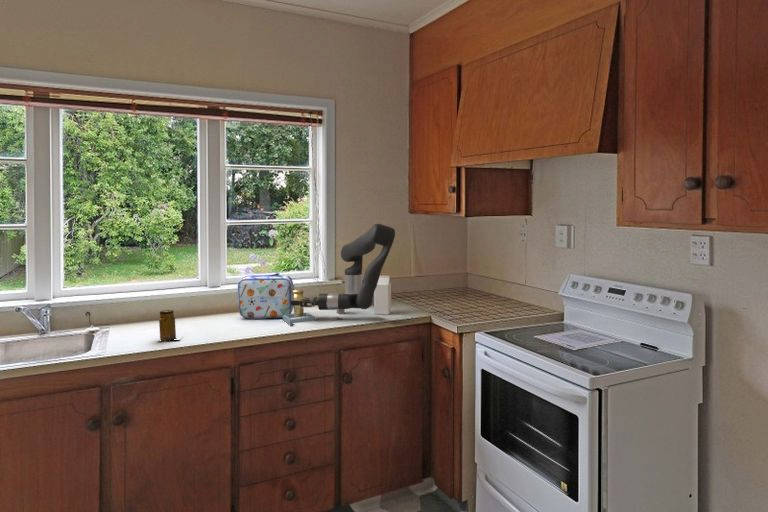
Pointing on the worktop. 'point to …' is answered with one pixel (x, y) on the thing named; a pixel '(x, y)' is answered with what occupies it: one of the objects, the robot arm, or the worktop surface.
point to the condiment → (167, 325)
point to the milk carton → (382, 296)
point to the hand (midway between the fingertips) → (292, 302)
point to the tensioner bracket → (338, 312)
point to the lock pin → (298, 296)
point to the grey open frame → (290, 321)
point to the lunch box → (265, 296)
